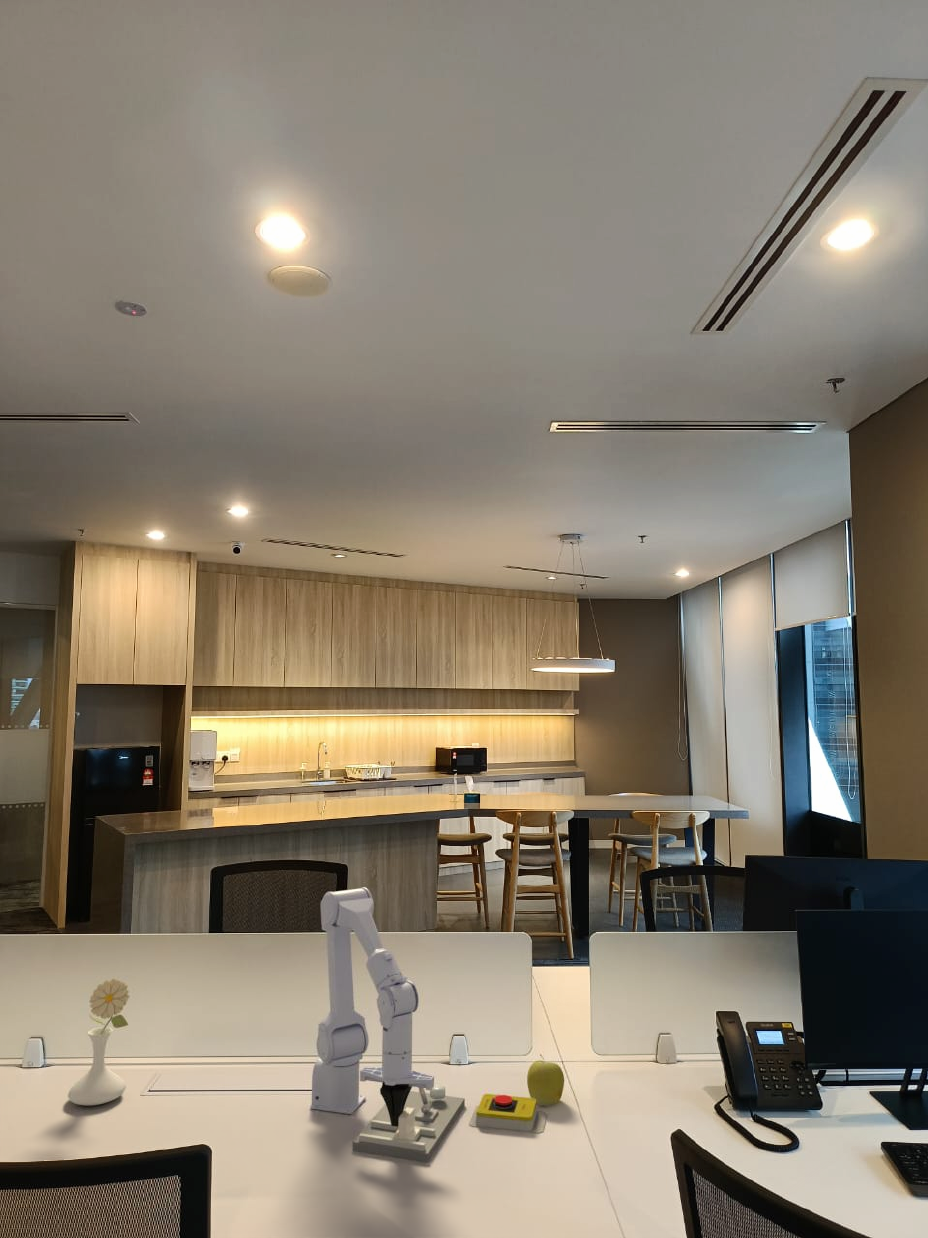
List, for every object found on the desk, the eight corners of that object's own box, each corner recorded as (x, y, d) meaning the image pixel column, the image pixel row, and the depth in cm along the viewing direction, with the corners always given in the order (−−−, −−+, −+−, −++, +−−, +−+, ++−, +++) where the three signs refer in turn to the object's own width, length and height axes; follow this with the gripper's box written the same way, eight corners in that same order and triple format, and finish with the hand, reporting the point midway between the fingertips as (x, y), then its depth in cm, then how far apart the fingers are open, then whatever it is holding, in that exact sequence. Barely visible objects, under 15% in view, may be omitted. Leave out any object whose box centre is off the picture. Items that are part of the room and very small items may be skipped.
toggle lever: (421, 1115, 171) (409, 1076, 173) (425, 1110, 174) (413, 1071, 175) (430, 1113, 171) (418, 1073, 172) (434, 1107, 173) (422, 1069, 175)
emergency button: (476, 1086, 181) (547, 1093, 178) (476, 1108, 180) (547, 1115, 177) (468, 1106, 172) (542, 1113, 169) (468, 1129, 171) (542, 1136, 168)
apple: (551, 1110, 176) (540, 1057, 179) (524, 1110, 181) (515, 1058, 185) (576, 1100, 181) (566, 1048, 184) (550, 1099, 186) (540, 1049, 190)
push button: (427, 1098, 178) (428, 1090, 178) (432, 1092, 181) (432, 1084, 181) (442, 1100, 177) (442, 1092, 177) (447, 1094, 180) (447, 1086, 180)
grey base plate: (352, 1150, 162) (352, 1136, 162) (397, 1096, 184) (397, 1084, 185) (427, 1162, 157) (427, 1148, 158) (464, 1106, 180) (464, 1093, 180)
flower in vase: (54, 1105, 179) (61, 981, 182) (96, 1084, 190) (102, 967, 193) (102, 1117, 174) (109, 989, 177) (143, 1094, 185) (148, 974, 188)
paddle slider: (392, 1142, 161) (392, 1116, 162) (400, 1131, 166) (400, 1106, 166) (412, 1145, 160) (412, 1119, 161) (420, 1134, 164) (420, 1109, 165)
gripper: (354, 1052, 163) (352, 1128, 162) (425, 1061, 159) (425, 1139, 158) (368, 1039, 170) (367, 1112, 169) (437, 1047, 166) (437, 1122, 165)
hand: (396, 1124), depth 164 cm, fingers closed
